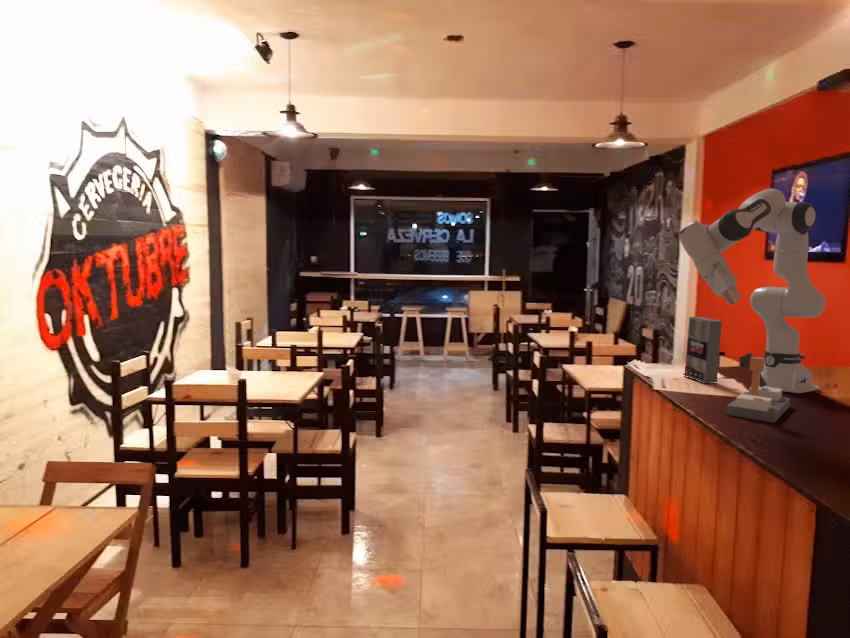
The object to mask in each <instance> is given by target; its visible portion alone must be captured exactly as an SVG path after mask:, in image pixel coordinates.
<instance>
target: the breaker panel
mask: <svg viewBox="0 0 850 638" xmlns="http://www.w3.org/2000/svg"><path fill="white" fill-rule="evenodd" d="M782 396H783V391H782V389H779V388H772V387H765V386H764V387H760V386H759V393H758V395H757V396H753V395H751V386H750V387H749V388H748V391H745V392H743V393H741V394H739V395H738V396H737V397H736V398H735V399H734V400H733V401H731V402H730V403H728V404H727V405H726V412H725V413H726V415H727V416H733V417H739V418H743V419H750V420H756V421H762V422H767V423H773V424H775V423H776V422H777V421H778V420H779V419H780V418H781V417H782V416H783V414H785V412H786V411H787V410H788V409H790V403H791V398H788V397H782Z"/></svg>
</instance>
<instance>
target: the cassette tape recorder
mask: <svg viewBox="0 0 850 638" xmlns="http://www.w3.org/2000/svg"><path fill="white" fill-rule="evenodd" d="M722 325H723V321H722V320H718V319H714V318H713V319H712V318H708V317H702V316H689V317H688V328H687V329H688V330H687V331H688V332H687V341H686V343H687V345H686V356H685V366H684V373H683V375H685V376H689V377H692V378H694V379H697V380H699V381H701V382H700V383H702V382H704V383H706V384H709V383H708V382H717V383H718V373H719V360H720V349H721V335H722V334H721V333H722ZM685 376H684V377H685ZM699 381H698V382H699ZM704 383H703V384H704Z"/></svg>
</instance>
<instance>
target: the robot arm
mask: <svg viewBox="0 0 850 638" xmlns="http://www.w3.org/2000/svg"><path fill="white" fill-rule="evenodd" d="M816 218H817V213H816V208H815V207H814V206H813V204H812V203H810V202H805V201H799V202H796V201H786V196H785V195H784V193H783V192H782V191H780V190H779V189H777V188H767V189H763V190H761V191H759V192H756V193H754V194H753V195H751V196H750V197H748V198H747V199H745V200H744V201H743V202H742V203H741V204H740V205H739V207H738V209H737V208H736V209H735V208H734V209H729V210H728V211H726V213H724V214H723V215H722V216H721V217H720V218H719V219H717V220H715V221H714V222H713V223H711V224H702V223H700V222H699V221H698V220H693V221H691V222H690V223H689V224H687V225H686V226H685V227H684V228H682V229H681V230H680V232H678V238H679V241H680V244H681V245H682V247H683V249H684V250H685V252H686V253H687V255H688V256H689V257H690V258H691V259H692V261H693V264H694V266H695V268H696V270H697V271H698V273H699V276H700V277H701V280H705V283H706V284H707V285H708V287H709V288H710V290H711V291H712V292H713V294H714V295H716V296H717V297H722V299H724V301H726V302H727V304H728V306H733V305H734V304H735V303H736V302H738V301H740V300H741V299H742V298H741V296H740V294H739V292H738V289H737V287H736V285H738V279H737V278H736V276H735V274H733V272H732V271H731V269H730V267H728V266H727V265H729V264H728V261H727V259H726V258H725V257H724V255H723V252H725V251H726V250H728V249H729V248H730V247H732V246H734V245H735V244H736V243H738V242H740V241H741V240H743V239H745V238H746V237H749V235H751V233H752V231H753V230H755V231H757V232H762V233H766V232H767V233H776V234H777V236H776V238H775V239H776V240H775V244H774V245H775V246H774V253H773V266H772V269H773V271H774V273H775V274H776V275H777V276H779V277H780V278H782V279H784V280H785V281H786V284H787V287H781V286H764V287H758V288H755V289H754V290H753V291H752V292H751V295H750V298H749V304H750V307H751V308H752V309H751V310H753V311H754V312H755V313H756V314H757V315H758V316H759V317H760V318H761V320H762V321H763V324H764V325H765V330H766V331H765V332H766V343H765V345H766V346H765V350H764V353H763V358H765V364H764V371H762V372H760V373H761V375H762V377H763V378H764V380H765V381H766V383H767V385H766V386H765V387H772V388H779V389H782V392H788V393H793V394H794V393H795V394H802V393H808V392H814V391H818V390H820V386H818V385H816V384H814V375H813V373H812V372H811V371H810V370H809V369H808V368H807V367H806V366H805V365H803V364H802V360H806V359H807V354H805V353H799V350H800V342H801V335H800V332H799V330H797V329H796V328H795V327H793V326H792V325H790V324H789V323H788V322H787V320H786V317H789V318H801V319H806V318H807V319H810V318H818V317H819V316H821V314H822V313H823V312H824V310H825V308H826V303H827V302H826V299H825V296H824V295H823V293H822V292H821V291H820V290H818V289H817V288H816V287H815V286H814V284H813V283H812V282H811V280H810V277H809V273H808V253H809V232H808V231H810V230H811V228H812V227H813V226H814V225H815V222H816ZM759 386H760V385H759Z"/></svg>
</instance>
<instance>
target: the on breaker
mask: <svg viewBox="0 0 850 638" xmlns="http://www.w3.org/2000/svg"><path fill="white" fill-rule="evenodd" d="M751 357H754V355H753V354H752V352H748V353H746V354H745V355H742V356H740V357H739V358H738V359H739V361H740V363H741V364H742V365H743V367H744V369H746V368H748V369H749V368H750V358H751ZM749 371H750V373H751V374H752V373H753V371H751V370H749ZM759 385H760V387H764V386H766V385H767V383H766V381H765V380H764V378H763V377H762V375H761V372H760V382H759Z"/></svg>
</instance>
